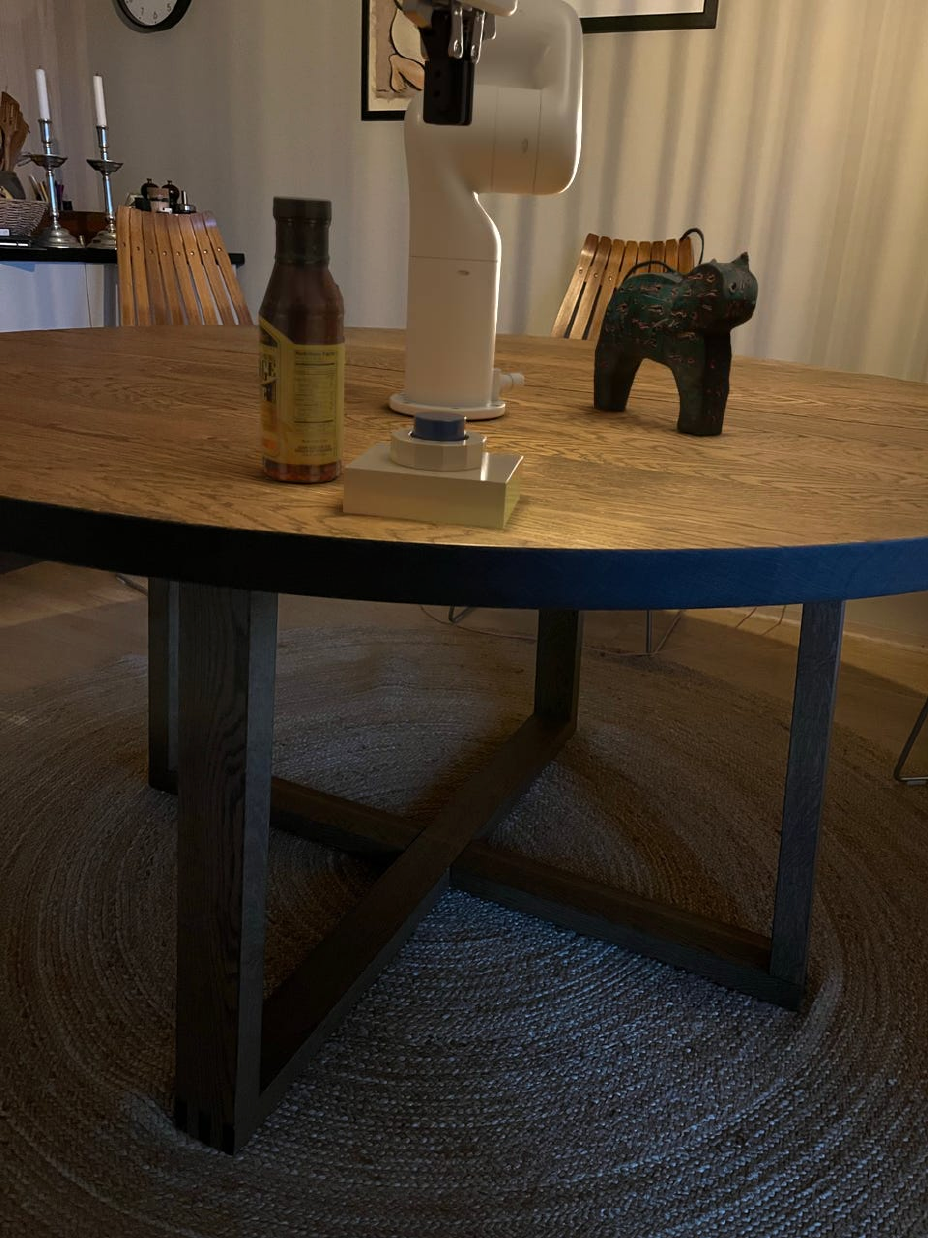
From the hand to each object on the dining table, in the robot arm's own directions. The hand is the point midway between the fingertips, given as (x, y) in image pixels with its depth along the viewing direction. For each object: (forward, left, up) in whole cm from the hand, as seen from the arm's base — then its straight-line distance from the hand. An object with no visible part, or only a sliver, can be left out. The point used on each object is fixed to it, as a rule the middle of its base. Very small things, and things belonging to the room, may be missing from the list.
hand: (447, 123), depth 72 cm
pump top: (+6, +9, -21) cm, 23 cm away
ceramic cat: (-38, -8, -26) cm, 46 cm away
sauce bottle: (+10, -3, -26) cm, 28 cm away
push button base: (+6, +9, -25) cm, 28 cm away
